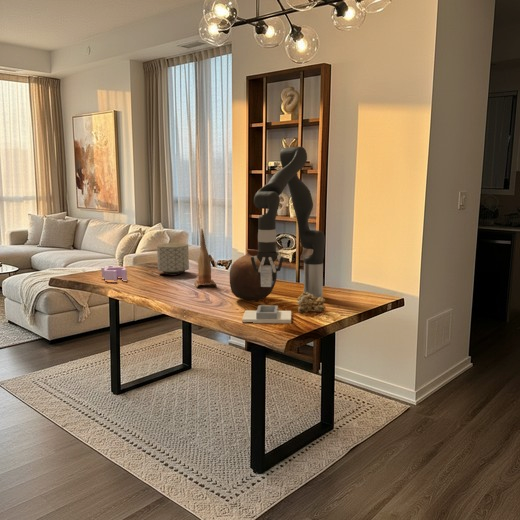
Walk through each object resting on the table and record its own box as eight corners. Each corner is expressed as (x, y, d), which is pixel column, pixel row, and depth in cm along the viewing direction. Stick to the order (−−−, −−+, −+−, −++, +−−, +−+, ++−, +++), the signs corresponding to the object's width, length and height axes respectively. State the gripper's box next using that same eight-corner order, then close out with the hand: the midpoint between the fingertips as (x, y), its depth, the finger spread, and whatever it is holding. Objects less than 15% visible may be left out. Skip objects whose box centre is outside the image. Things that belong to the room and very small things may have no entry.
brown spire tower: (213, 283, 287) (211, 227, 283) (217, 287, 276) (215, 228, 272) (193, 285, 285) (191, 228, 280) (196, 289, 273) (194, 229, 269)
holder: (245, 313, 223) (245, 304, 222) (291, 314, 221) (291, 305, 221) (242, 322, 209) (241, 313, 208) (290, 323, 208) (290, 313, 207)
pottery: (225, 305, 238) (224, 252, 234) (234, 293, 261) (234, 245, 257) (274, 306, 235) (273, 252, 231) (279, 294, 258) (279, 245, 253)
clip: (96, 278, 304) (95, 267, 303) (116, 276, 312) (115, 264, 311) (110, 283, 289) (110, 271, 288) (131, 280, 297) (130, 269, 296)
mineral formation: (296, 314, 221) (292, 303, 235) (326, 318, 222) (320, 307, 236) (299, 297, 219) (295, 287, 234) (330, 301, 220) (323, 291, 235)
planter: (190, 270, 327) (189, 242, 324) (188, 276, 308) (187, 246, 305) (160, 271, 325) (159, 243, 322) (156, 277, 307) (154, 247, 304)
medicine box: (271, 287, 209) (271, 266, 207) (260, 287, 209) (260, 266, 208) (273, 283, 216) (273, 263, 215) (263, 283, 217) (263, 263, 216)
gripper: (248, 241, 207) (249, 282, 209) (284, 241, 206) (284, 282, 209) (250, 239, 214) (251, 279, 217) (284, 239, 213) (284, 279, 216)
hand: (267, 280), depth 213 cm, fingers closed on medicine box, 4 cm apart
